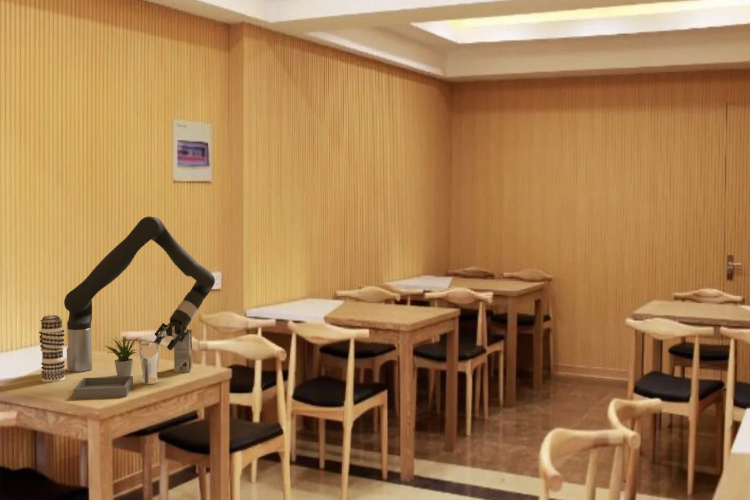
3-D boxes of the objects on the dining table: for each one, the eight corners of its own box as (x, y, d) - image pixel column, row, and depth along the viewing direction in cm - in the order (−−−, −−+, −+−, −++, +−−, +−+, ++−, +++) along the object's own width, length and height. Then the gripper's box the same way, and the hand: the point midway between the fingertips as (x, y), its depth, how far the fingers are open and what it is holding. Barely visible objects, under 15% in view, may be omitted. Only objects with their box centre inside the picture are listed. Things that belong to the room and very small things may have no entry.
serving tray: (74, 398, 301) (73, 389, 300) (83, 387, 318) (83, 377, 318) (126, 396, 303) (126, 387, 303) (133, 385, 321) (132, 376, 321)
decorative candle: (63, 381, 327) (61, 317, 325) (38, 382, 326) (36, 318, 324) (68, 376, 336) (66, 314, 334) (43, 377, 335) (41, 314, 333)
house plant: (134, 369, 349) (132, 330, 348) (151, 374, 339) (150, 334, 338) (101, 374, 339) (100, 334, 338) (118, 380, 329) (117, 338, 328)
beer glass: (163, 381, 327) (162, 342, 326) (152, 385, 320) (151, 346, 319) (147, 380, 329) (146, 341, 328) (137, 384, 323) (136, 345, 322)
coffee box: (177, 367, 352) (176, 329, 350) (192, 367, 352) (192, 329, 351) (173, 372, 342) (172, 333, 341) (190, 372, 343) (189, 332, 342)
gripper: (166, 307, 339) (143, 340, 331) (190, 310, 331) (168, 343, 322) (177, 318, 344) (155, 351, 335) (201, 322, 335) (179, 355, 327)
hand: (161, 347), depth 329 cm, fingers open, 8 cm apart
